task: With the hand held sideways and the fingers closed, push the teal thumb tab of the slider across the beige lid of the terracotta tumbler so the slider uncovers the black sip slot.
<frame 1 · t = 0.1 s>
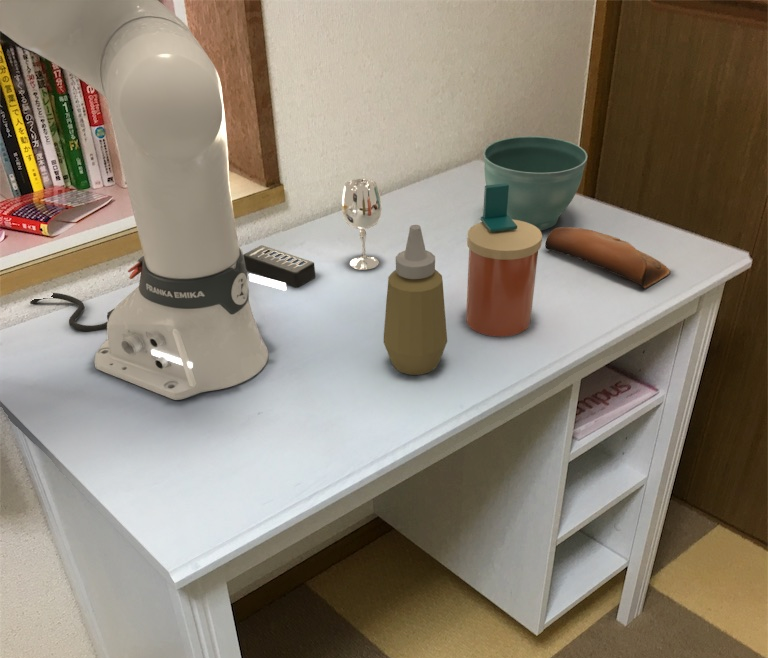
tumbler: (498, 320, 112), on the table
wineglass: (364, 264, 125), on the table
cup lid: (504, 238, 104), on the tumbler, point 11 cm above the table
multiport hub: (280, 274, 124), on the table
flower pot: (528, 221, 135), on the table
squeeze bottle: (415, 364, 104), on the table
slider: (499, 207, 103), point 15 cm above the table, slide at 0.0 cm
sunglasses case: (606, 264, 123), on the table
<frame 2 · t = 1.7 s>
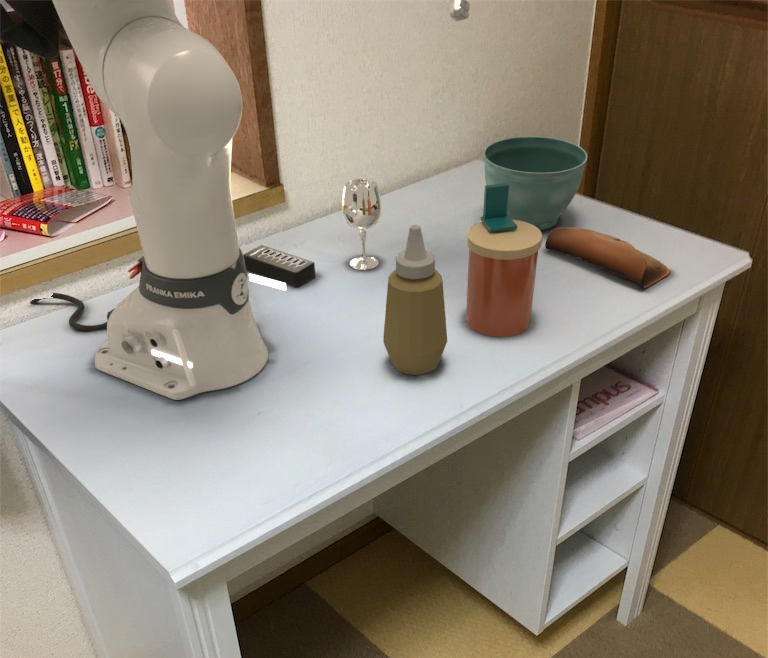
hand: (495, 7, 90), 36 cm above the table, tool tilted 35°, fingers open, 8 cm apart
nothing on the table moved.
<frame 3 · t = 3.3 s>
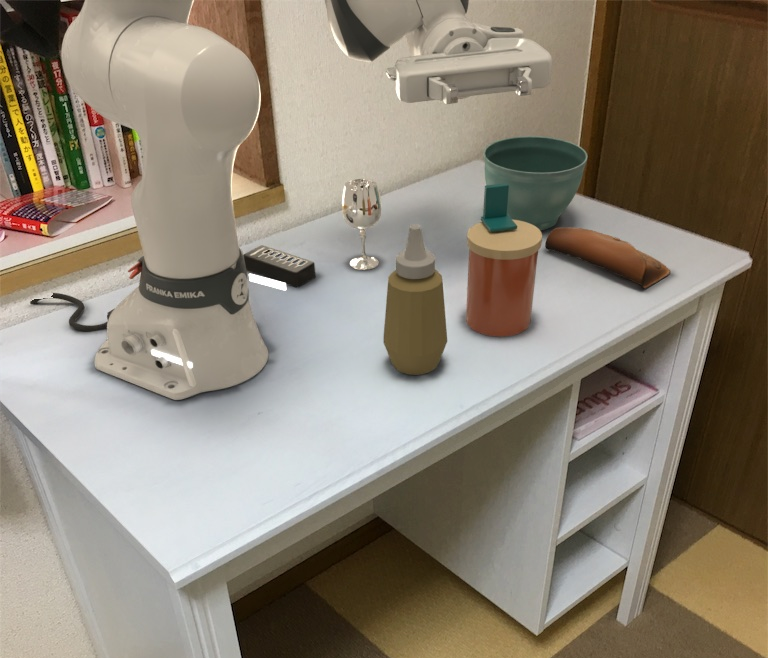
hand: (489, 92, 100), 26 cm above the table, tool horizontal, fingers open, 8 cm apart
nothing on the table moved.
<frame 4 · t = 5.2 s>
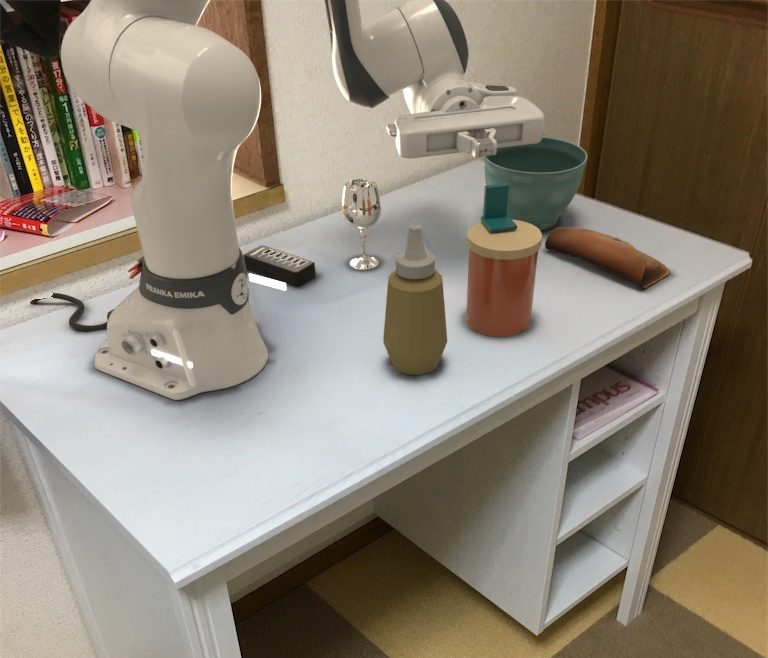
hand: (486, 150, 105), 19 cm above the table, tool horizontal, fingers closed
nothing on the table moved.
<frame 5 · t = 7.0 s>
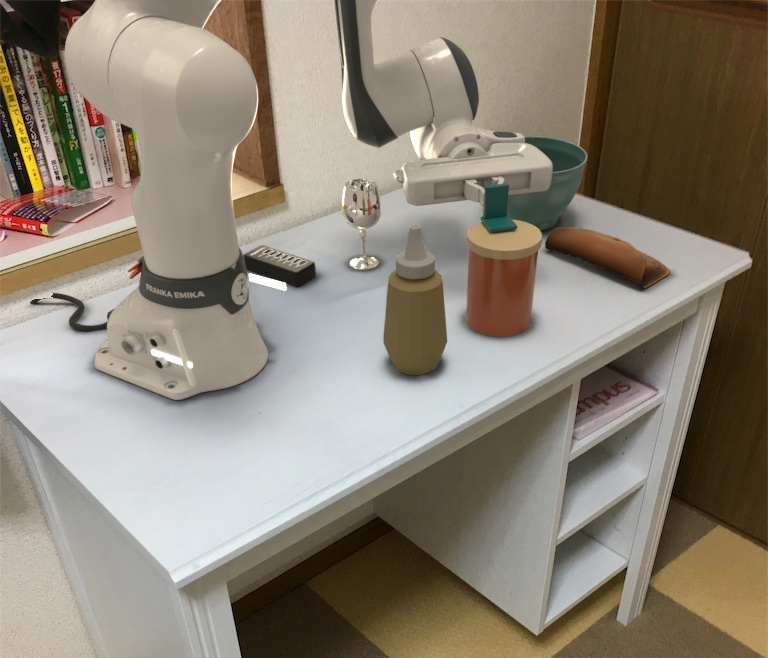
hand: (494, 199, 105), 15 cm above the table, tool horizontal, fingers closed, pressing on slider
slider: (499, 207, 103), point 15 cm above the table, slide at 0.0 cm, touching gripper
everything else where it was.
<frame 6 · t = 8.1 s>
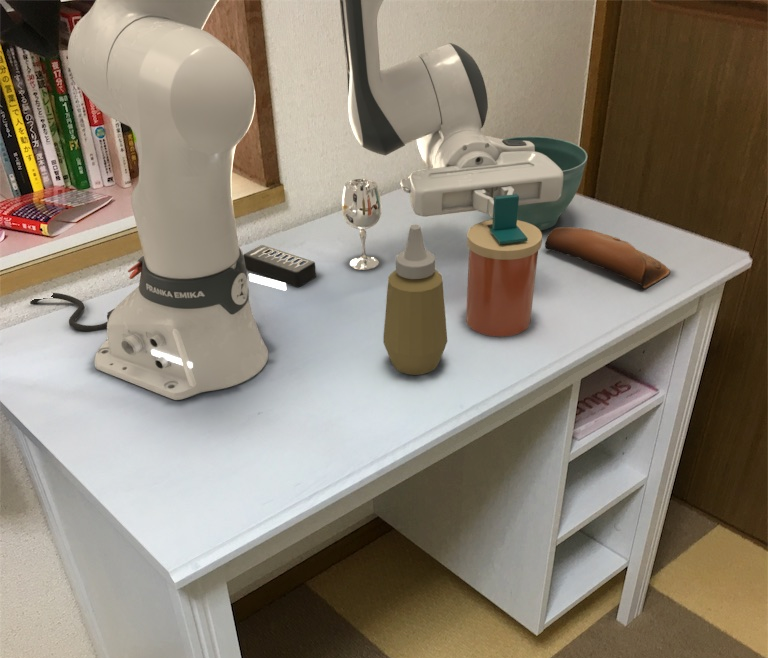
hand: (503, 210, 102), 15 cm above the table, tool horizontal, fingers closed, pressing on slider
slider: (509, 218, 101), point 15 cm above the table, slide at 3.7 cm, touching gripper
everything else where it was.
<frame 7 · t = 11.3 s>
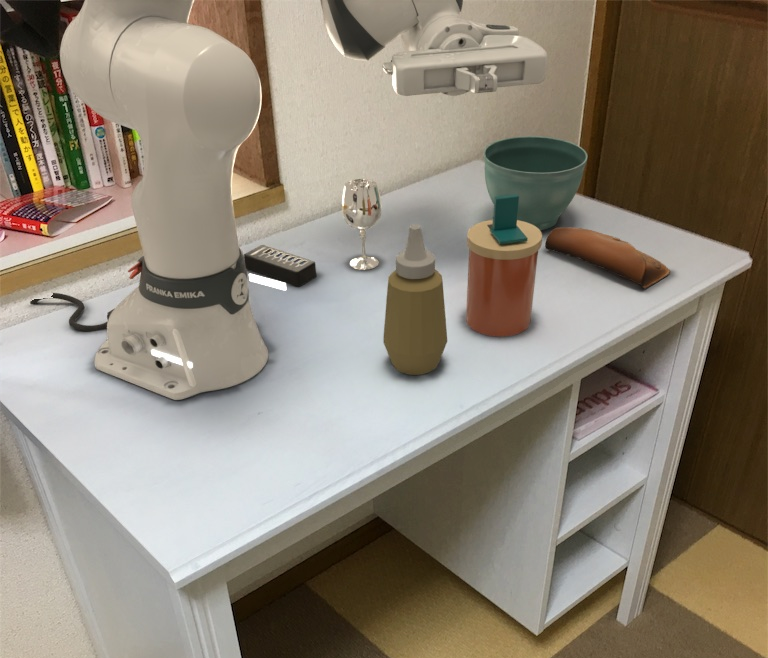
hand: (486, 85, 100), 27 cm above the table, tool horizontal, fingers closed
slider: (509, 219, 101), point 15 cm above the table, slide at 3.7 cm
everything else where it was.
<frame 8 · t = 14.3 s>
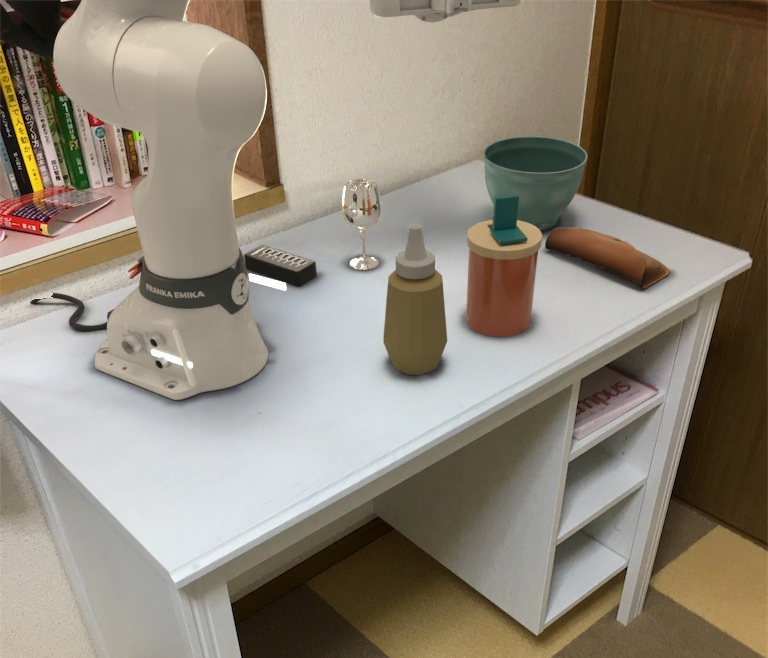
hand: (461, 4, 102), 34 cm above the table, tool horizontal, fingers closed
nothing on the table moved.
at the end: slider slide at 3.7 cm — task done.
